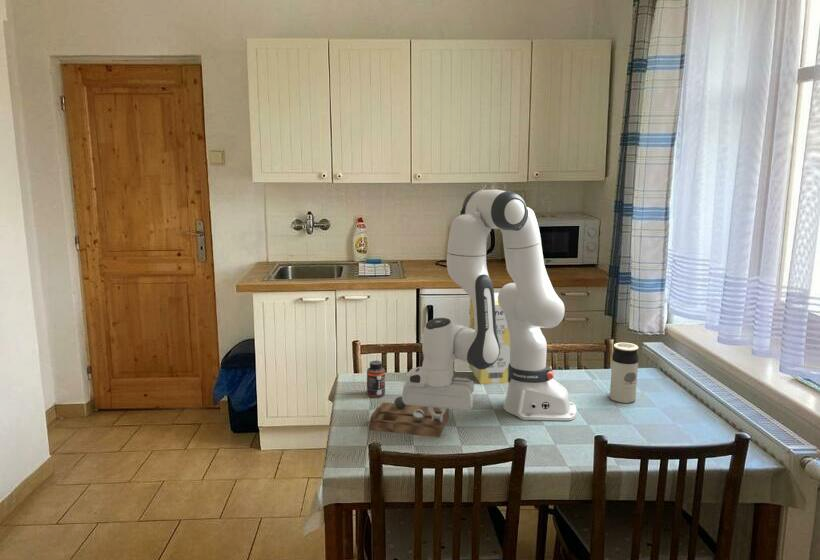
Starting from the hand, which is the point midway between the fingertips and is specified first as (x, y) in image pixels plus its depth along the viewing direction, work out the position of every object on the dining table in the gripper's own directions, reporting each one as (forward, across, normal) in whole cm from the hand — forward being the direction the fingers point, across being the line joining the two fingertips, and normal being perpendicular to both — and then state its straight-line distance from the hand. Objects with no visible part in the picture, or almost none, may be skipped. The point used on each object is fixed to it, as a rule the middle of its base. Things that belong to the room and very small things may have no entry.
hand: (437, 420), depth 188 cm
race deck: (+3, +9, -4) cm, 10 cm away
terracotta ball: (+1, +1, -8) cm, 8 cm away
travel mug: (+3, -54, -37) cm, 66 cm away
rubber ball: (+1, +13, -8) cm, 15 cm away
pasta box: (+3, -9, -51) cm, 52 cm away
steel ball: (+1, +6, 0) cm, 6 cm away
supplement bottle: (+3, +25, -23) cm, 34 cm away
